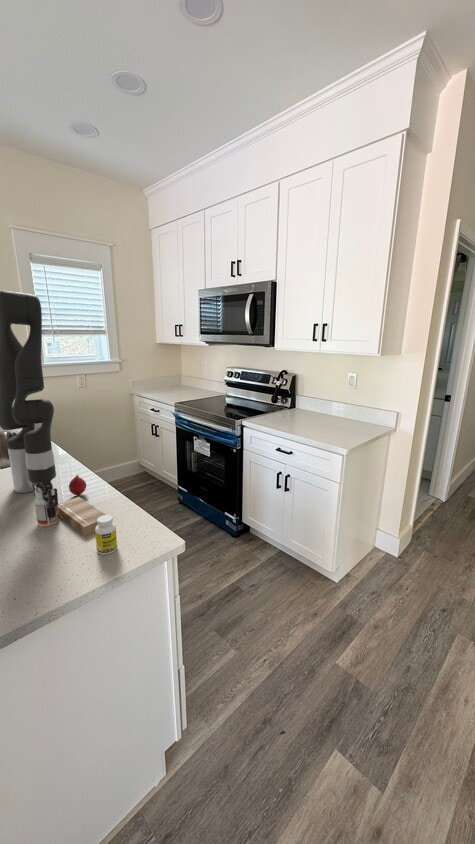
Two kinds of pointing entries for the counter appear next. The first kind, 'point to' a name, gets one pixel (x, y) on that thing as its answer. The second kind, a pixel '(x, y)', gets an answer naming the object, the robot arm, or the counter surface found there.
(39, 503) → the pill bottle
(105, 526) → the supplement bottle
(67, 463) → the counter surface
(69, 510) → the brown banded box
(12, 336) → the robot arm
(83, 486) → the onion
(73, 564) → the counter surface
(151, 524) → the counter surface
